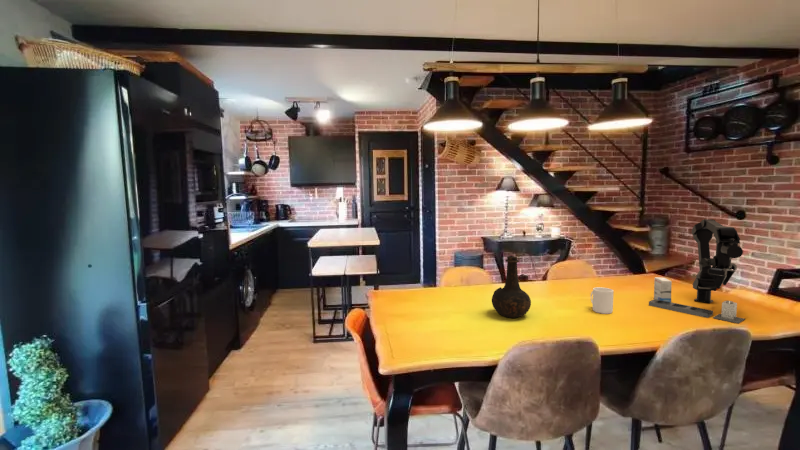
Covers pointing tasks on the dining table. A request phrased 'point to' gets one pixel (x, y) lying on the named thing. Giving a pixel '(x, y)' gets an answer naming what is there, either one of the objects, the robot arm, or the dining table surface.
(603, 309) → the mug
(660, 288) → the ink box
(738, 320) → the mat
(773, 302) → the dining table surface
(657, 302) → the grey metal frame
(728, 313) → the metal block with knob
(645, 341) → the dining table surface
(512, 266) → the glass bottle
